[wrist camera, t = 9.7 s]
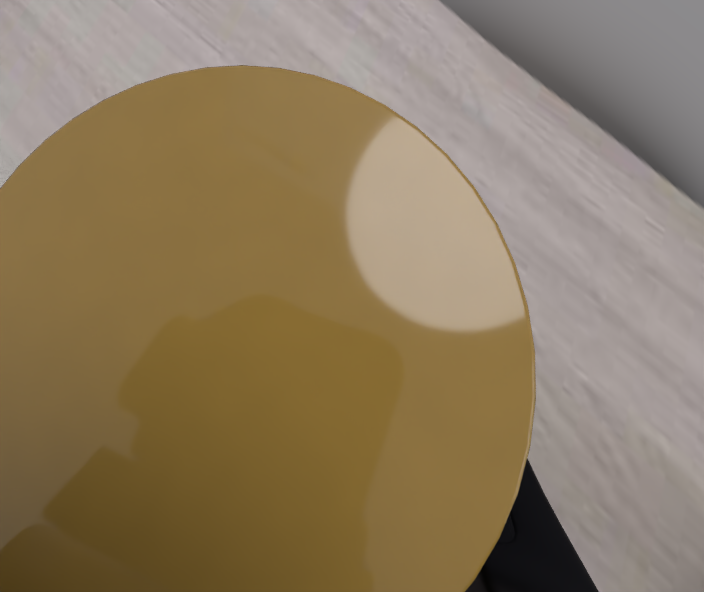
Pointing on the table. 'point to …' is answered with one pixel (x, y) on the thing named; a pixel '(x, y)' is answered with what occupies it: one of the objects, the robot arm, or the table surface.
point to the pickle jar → (254, 348)
